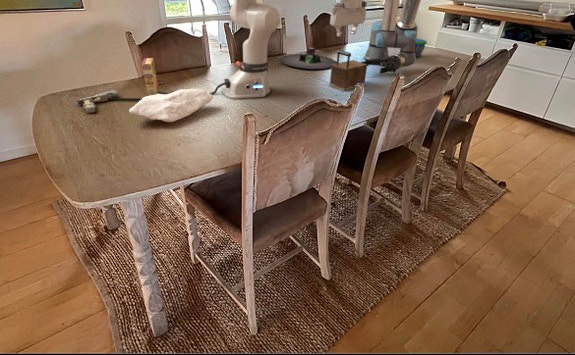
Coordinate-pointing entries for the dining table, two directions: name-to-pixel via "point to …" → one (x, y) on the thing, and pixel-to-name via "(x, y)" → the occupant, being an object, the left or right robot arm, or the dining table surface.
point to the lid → (347, 62)
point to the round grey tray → (308, 60)
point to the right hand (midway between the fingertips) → (370, 67)
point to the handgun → (95, 100)
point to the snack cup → (419, 47)
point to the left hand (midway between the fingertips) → (346, 35)
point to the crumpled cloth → (171, 104)
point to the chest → (347, 78)
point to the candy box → (150, 76)
